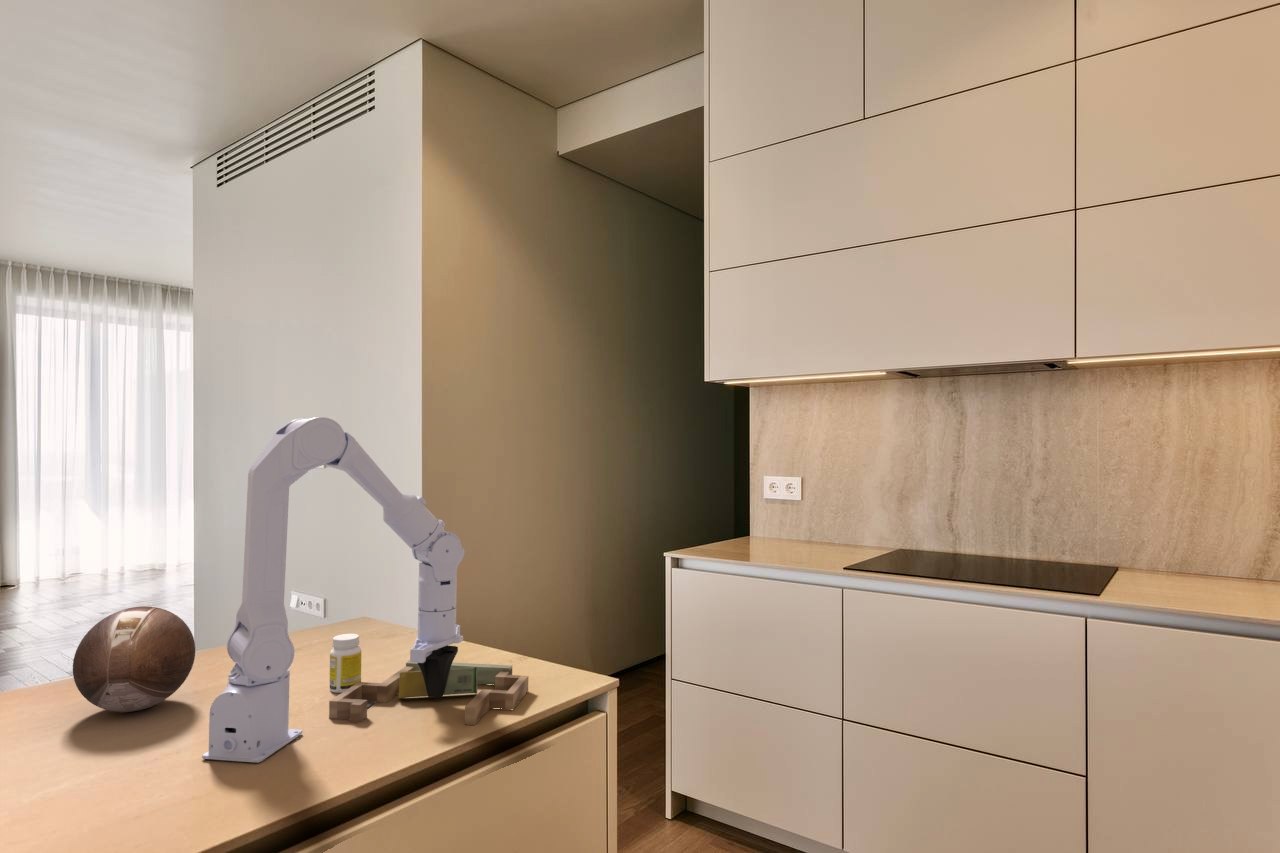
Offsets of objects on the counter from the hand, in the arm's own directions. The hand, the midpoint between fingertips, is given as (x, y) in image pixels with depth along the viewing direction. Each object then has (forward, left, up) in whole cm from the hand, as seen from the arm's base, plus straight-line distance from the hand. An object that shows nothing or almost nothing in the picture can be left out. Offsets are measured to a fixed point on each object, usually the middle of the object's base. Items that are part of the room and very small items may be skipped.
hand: (435, 696), depth 112 cm
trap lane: (0, 0, -1) cm, 1 cm away
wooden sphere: (-9, +43, -1) cm, 44 cm away
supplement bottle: (+4, +17, -1) cm, 17 cm away
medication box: (+2, 0, -1) cm, 2 cm away
